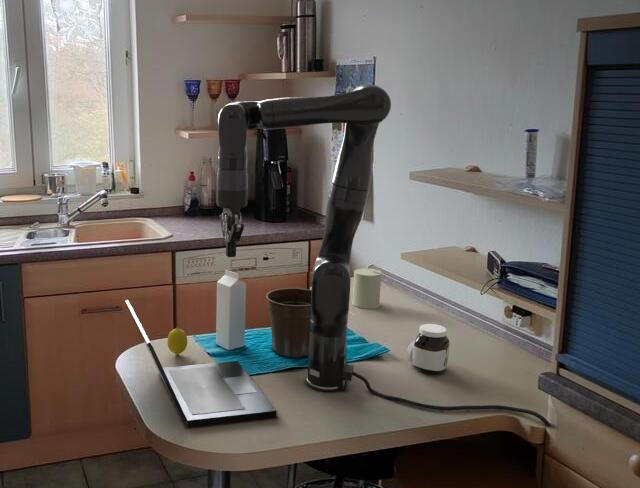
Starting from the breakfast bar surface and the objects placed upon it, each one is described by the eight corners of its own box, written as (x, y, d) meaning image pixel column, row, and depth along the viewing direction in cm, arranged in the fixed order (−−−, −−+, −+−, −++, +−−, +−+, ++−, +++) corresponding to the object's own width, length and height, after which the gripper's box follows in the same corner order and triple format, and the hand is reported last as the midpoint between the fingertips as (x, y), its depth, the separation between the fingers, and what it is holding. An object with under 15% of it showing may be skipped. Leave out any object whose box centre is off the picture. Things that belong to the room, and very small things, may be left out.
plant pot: (260, 357, 204) (261, 302, 200) (268, 337, 219) (270, 285, 215) (319, 363, 200) (322, 307, 196) (324, 342, 215) (326, 290, 212)
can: (376, 310, 244) (378, 275, 242) (349, 306, 248) (351, 272, 245) (382, 302, 253) (384, 268, 250) (355, 298, 256) (357, 265, 254)
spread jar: (434, 379, 191) (438, 336, 188) (395, 367, 198) (398, 326, 196) (454, 365, 200) (458, 325, 197) (415, 354, 207) (418, 315, 204)
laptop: (237, 367, 197) (237, 360, 197) (276, 417, 169) (276, 410, 169) (160, 374, 192) (160, 367, 192) (187, 428, 164) (187, 420, 163)
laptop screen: (128, 299, 185) (125, 300, 185) (150, 341, 157) (146, 343, 157) (160, 367, 192) (157, 369, 192) (187, 420, 164) (184, 422, 163)
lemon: (180, 360, 201) (180, 332, 200) (163, 356, 204) (163, 328, 202) (191, 353, 206) (191, 326, 204) (174, 349, 209) (174, 323, 207)
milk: (228, 350, 209) (230, 276, 204) (215, 344, 213) (216, 271, 208) (245, 345, 212) (246, 272, 207) (231, 339, 217) (233, 267, 212)
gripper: (255, 190, 172) (253, 262, 176) (238, 182, 184) (237, 249, 188) (225, 191, 170) (223, 264, 174) (209, 183, 183) (209, 250, 187)
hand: (230, 256), depth 181 cm, fingers closed
